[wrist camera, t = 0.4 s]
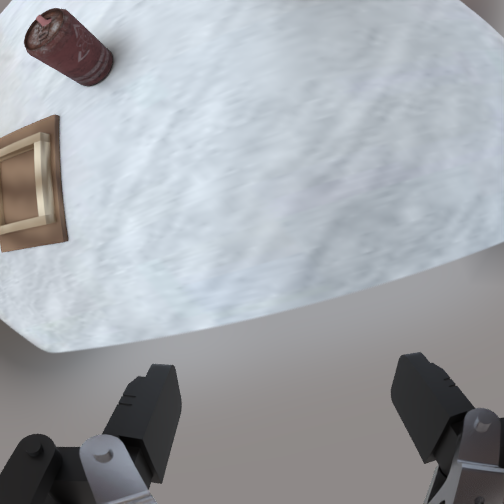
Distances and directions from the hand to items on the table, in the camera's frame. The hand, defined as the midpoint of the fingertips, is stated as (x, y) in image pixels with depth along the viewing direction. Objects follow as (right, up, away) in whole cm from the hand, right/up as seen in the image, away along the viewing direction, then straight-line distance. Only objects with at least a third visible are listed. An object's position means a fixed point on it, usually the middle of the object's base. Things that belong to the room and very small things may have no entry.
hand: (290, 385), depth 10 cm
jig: (-35, +14, +25) cm, 45 cm away
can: (-23, +30, +23) cm, 44 cm away
